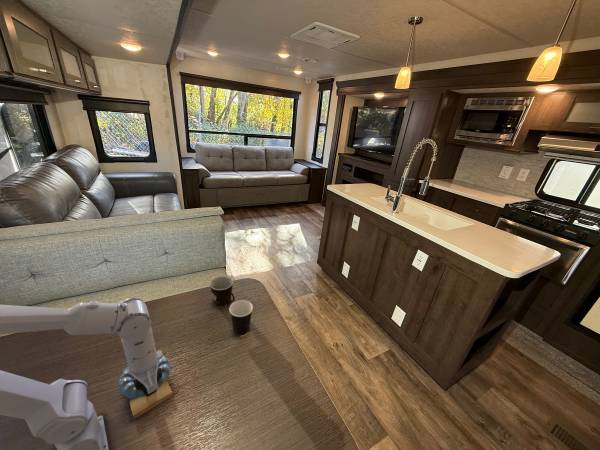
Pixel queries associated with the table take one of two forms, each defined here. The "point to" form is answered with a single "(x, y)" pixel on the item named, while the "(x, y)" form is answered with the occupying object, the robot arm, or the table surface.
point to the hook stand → (150, 400)
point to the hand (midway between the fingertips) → (149, 387)
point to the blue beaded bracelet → (127, 379)
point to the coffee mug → (222, 290)
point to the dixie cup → (241, 316)
